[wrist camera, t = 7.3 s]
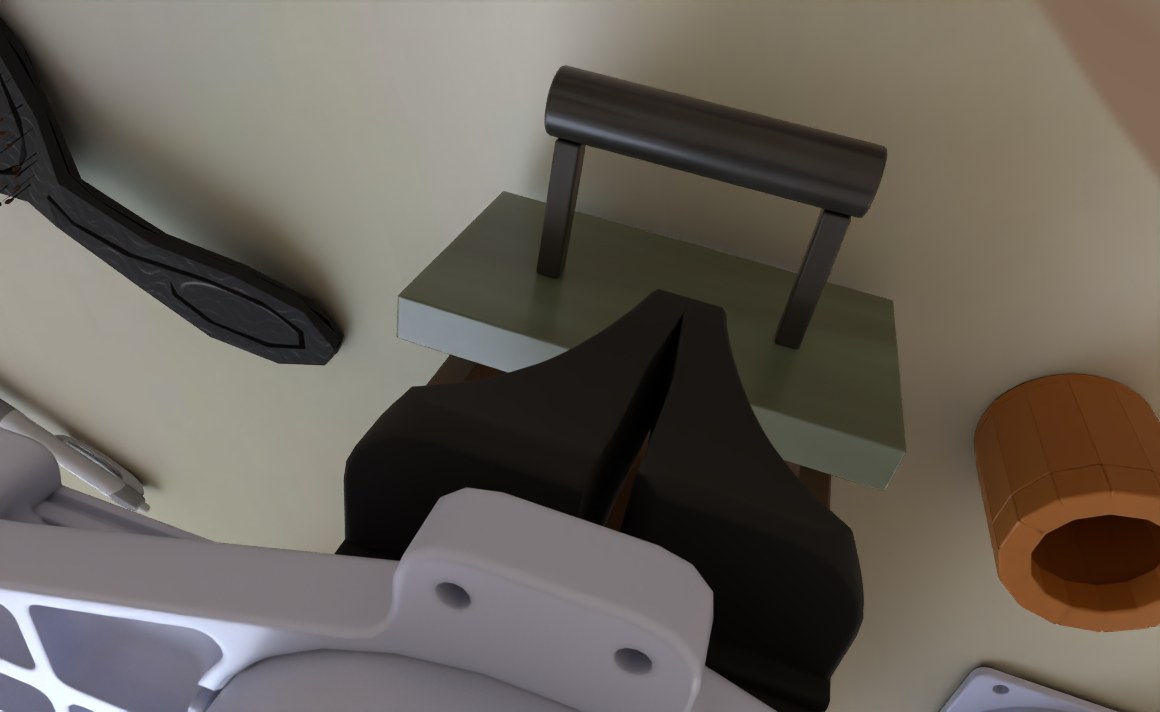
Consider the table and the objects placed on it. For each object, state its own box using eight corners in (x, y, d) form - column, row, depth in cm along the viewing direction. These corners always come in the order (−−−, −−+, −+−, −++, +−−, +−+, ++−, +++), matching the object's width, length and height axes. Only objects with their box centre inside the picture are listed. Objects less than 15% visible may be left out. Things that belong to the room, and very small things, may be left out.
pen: (159, 503, 38) (138, 522, 37) (-94, 335, 37) (-124, 350, 36) (163, 492, 38) (142, 512, 37) (-94, 321, 36) (-124, 336, 35)
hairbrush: (266, 454, 29) (-397, 41, 26) (316, 396, 32) (-272, 18, 29) (345, 312, 24) (-458, -223, 21) (394, 259, 27) (-301, -218, 24)
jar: (1197, 401, 21) (1277, 532, 17) (1100, 520, 24) (1150, 656, 20) (1020, 351, 22) (1057, 465, 18) (946, 473, 25) (964, 595, 21)
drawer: (523, 11, 20) (403, 72, 15) (976, 123, 18) (1027, 236, 13) (467, 506, 31) (387, 645, 25) (751, 604, 29) (728, 773, 24)
